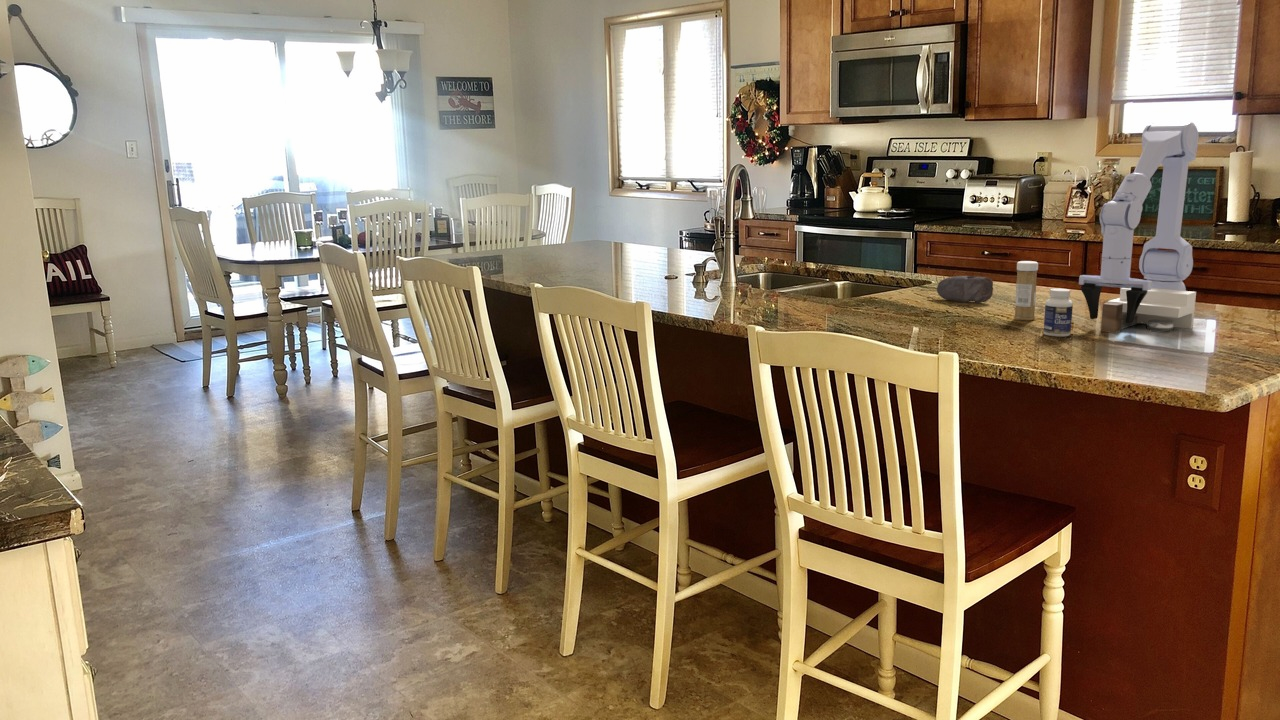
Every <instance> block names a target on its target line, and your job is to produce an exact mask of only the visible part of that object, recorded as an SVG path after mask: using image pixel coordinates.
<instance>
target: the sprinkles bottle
mask: <svg viewBox="0 0 1280 720" xmlns="http://www.w3.org/2000/svg"><path fill="white" fill-rule="evenodd" d="M1038 270H1039V262H1037V261H1032V260H1020V261H1018V262H1016V273H1017V274H1016V282H1015V283H1016V284H1015V286H1016V287H1015V301H1014V304H1015V305H1014V306H1015V308H1014V316H1013V317H1014V319H1015V320H1016V321H1026V322H1028V321H1029V322H1030V321H1033V320H1035V314H1036V313H1035V309H1036V302H1037V301H1036V300H1037V299H1036V298H1037V275H1038V274H1037V273H1038Z"/></svg>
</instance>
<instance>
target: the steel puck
mask: <svg viewBox="0 0 1280 720" xmlns="http://www.w3.org/2000/svg"><path fill="white" fill-rule="evenodd" d="M1173 325H1174V322H1173V321H1168V320H1148V324H1147V326H1146V327H1147V331H1150V330H1151V332H1157V333H1159V332H1161V333H1167V332H1168V333H1169V332H1173V331H1174V327H1173Z"/></svg>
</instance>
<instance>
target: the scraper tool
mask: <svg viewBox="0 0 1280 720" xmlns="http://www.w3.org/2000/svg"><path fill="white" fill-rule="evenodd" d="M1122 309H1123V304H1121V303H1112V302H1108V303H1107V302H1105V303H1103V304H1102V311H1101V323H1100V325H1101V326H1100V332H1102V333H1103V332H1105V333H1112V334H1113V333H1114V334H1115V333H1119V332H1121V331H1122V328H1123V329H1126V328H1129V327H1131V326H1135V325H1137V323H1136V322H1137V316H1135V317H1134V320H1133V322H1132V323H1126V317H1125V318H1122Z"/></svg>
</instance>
